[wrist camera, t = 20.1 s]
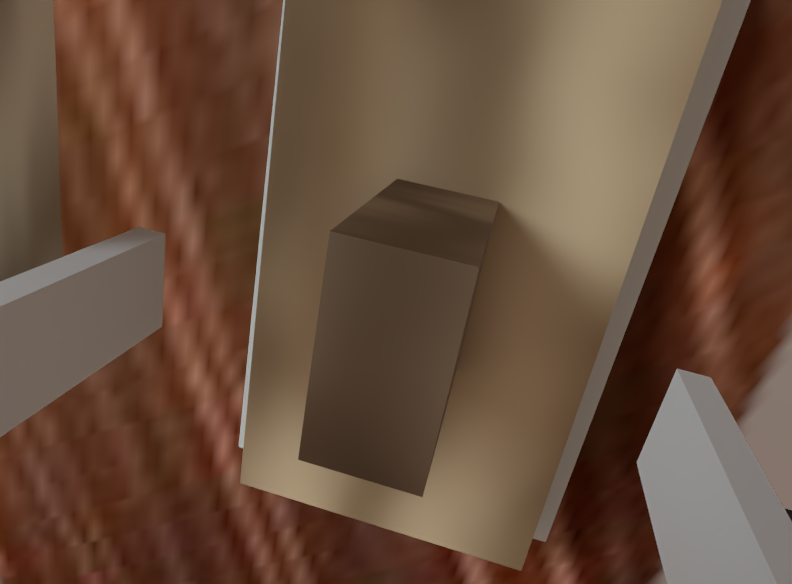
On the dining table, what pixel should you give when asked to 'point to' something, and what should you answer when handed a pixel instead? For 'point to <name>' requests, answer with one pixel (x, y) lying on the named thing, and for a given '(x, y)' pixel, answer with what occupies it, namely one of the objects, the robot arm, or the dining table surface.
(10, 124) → the beige wooden bar
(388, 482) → the lid
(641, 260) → the light grey flat board
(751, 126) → the dining table surface
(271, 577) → the dining table surface
